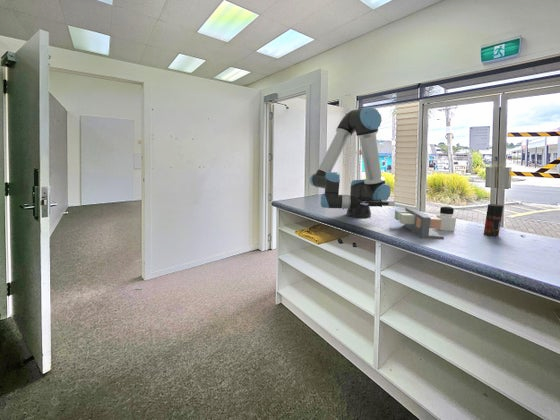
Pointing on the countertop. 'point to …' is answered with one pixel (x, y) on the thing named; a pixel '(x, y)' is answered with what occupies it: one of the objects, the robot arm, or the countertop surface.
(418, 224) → the terracotta key
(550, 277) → the countertop surface
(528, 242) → the countertop surface
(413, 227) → the grey slotted block
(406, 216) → the cream key
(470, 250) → the countertop surface
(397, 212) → the sage key
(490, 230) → the deodorant
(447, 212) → the medicine bottle
